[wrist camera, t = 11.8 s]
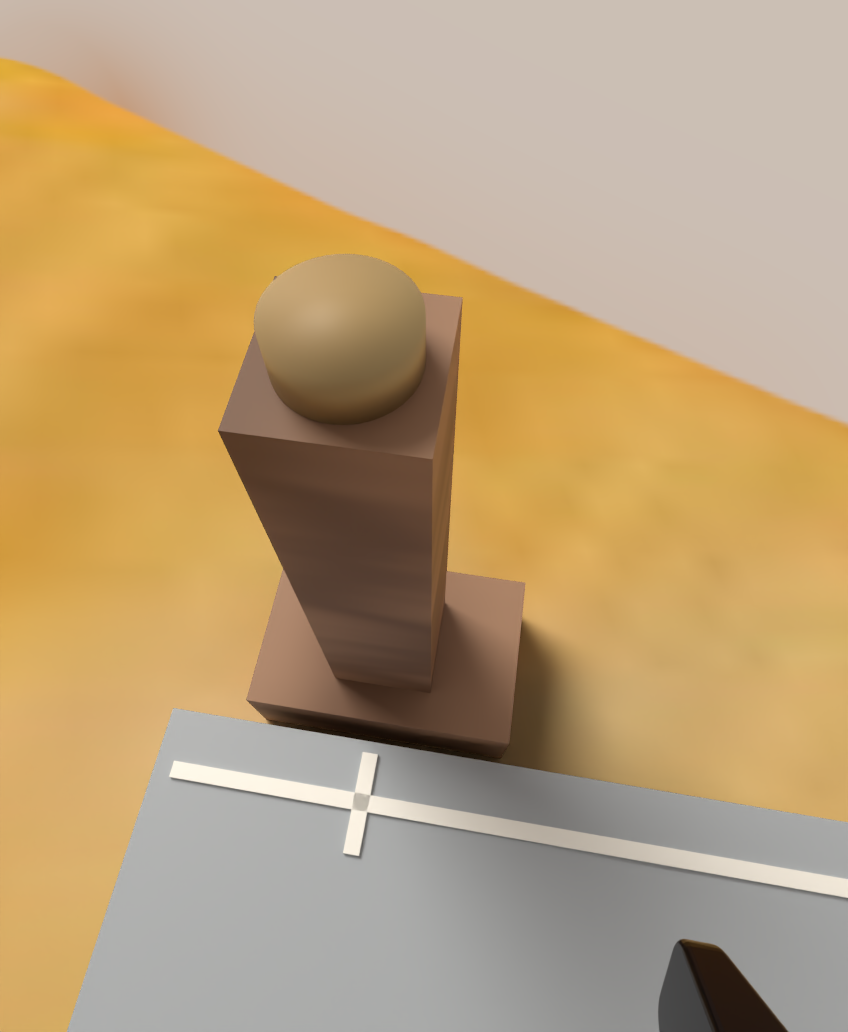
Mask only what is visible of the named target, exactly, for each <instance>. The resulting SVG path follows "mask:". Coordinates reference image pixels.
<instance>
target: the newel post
mask: <svg viewBox="0 0 848 1032" xmlns="http://www.w3.org/2000/svg"><path fill="white" fill-rule="evenodd" d="M461 315H462V297H453V296H444V295H435V294H427V293H421V292H420V290H419V289H418V287H417V286H416V284H415V283H414V282H413V281H412V279H411V278H410V277H409V276H407V275H406V274H405V273H404V272H403V271H401V270H400V269H398V268H397V267H395V266H393V265H391V264H389V263H387V262H385V261H382V260H380V259H377V258H373V257H369V256H363V255H356V254H334V255H326V256H322V257H317V258H313V259H310V260H307V261H304V262H302V263H300V264H297V265H295V266H293V267H292V268H290V269H288V270H286V271H285V272H283V273H282V274H281V275H279V276H278V277H277V276H275V277H274V280H273V281H272V282H271V284H270V285H269V286H268V287H267V288H266V289H265V291H264V292H263V294H262V295H261V297H260V299H259V301H258V303H257V306H256V310H255V314H254V330H255V331H254V334H253V337H252V340H251V342H250V345H249V348H248V350H247V353H246V356H245V359H244V361H243V364H242V367H241V369H240V372H239V375H238V378H237V380H236V383H235V386H234V388H233V391H232V394H231V397H230V399H229V402H228V405H227V408H226V410H225V413H224V416H223V418H222V421H221V424H220V427H219V429H218V432H219V434H220V436H221V438H222V440H223V442H224V444H225V446H226V448H227V451H228V453H229V455H230V457H231V459H232V461H233V463H234V465H235V467H236V470H237V472H238V474H239V476H240V478H241V480H242V482H243V484H244V486H245V489H246V491H247V493H248V495H249V497H250V499H251V501H252V503H253V505H254V508H255V510H256V512H257V514H258V516H259V518H260V520H261V522H262V524H263V527H264V529H265V531H266V533H267V535H268V537H269V539H270V541H271V543H272V546H273V548H274V550H275V552H276V554H277V556H278V558H279V560H280V562H281V565H282V567H283V571H282V575H281V578H280V582H279V585H278V589H277V593H276V596H275V600H274V603H273V607H272V610H271V614H270V617H269V621H268V625H267V628H266V632H265V635H264V639H263V642H262V646H261V649H260V653H259V657H258V660H257V664H256V667H255V671H254V674H253V678H252V681H251V685H250V689H249V692H248V696H247V699H246V700H247V701H248V702H249V703H250V704H251V705H252V706H253V707H254V708H255V709H256V710H257V711H258V712H259V713H260V714H261V715H262V716H263V717H265V718H266V719H268V720H274V721H280V722H286V723H292V724H298V725H304V726H310V727H316V728H322V729H328V730H334V731H340V732H346V733H352V734H358V735H364V736H370V737H376V738H382V739H388V740H393V741H399V742H405V743H411V744H417V745H423V746H429V747H435V748H441V749H447V750H453V751H459V752H465V753H471V754H477V755H483V756H489V757H495V758H501V757H502V755H503V753H504V752H505V750H506V748H507V747H508V745H509V742H510V732H511V722H512V712H513V702H514V692H515V682H516V672H517V662H518V652H519V642H520V632H521V622H522V612H523V601H524V591H525V583H523V582H516V581H509V580H502V579H496V578H489V577H482V576H475V575H468V574H462V573H455V572H448V571H447V556H448V539H449V522H450V505H451V487H452V470H453V453H454V436H455V419H456V401H457V384H458V367H459V350H460V333H461Z"/></svg>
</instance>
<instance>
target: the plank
mask: <svg viewBox="0 0 848 1032" xmlns="http://www.w3.org/2000/svg"><path fill="white" fill-rule="evenodd" d="M680 939H689V940H694V941H699V942H705V943H710V944H714V945H716V946H718V947H720V948H721V949H722V950H723V951H724V952H725V953H726V954H727V955H728V956H729V958H730V959H731V960H732V961H733V963H734V964H735V965H736V966H737V968H738V969H739V970H740V971H741V973H742V974H743V975H744V976H745V978H746V979H747V980H748V981H749V983H750V984H751V985H752V986H753V988H754V989H755V990H756V991H757V993H758V994H759V995H760V996H761V998H762V999H763V1000H764V1001H765V1003H766V1004H767V1005H768V1006H769V1008H770V1009H771V1010H772V1011H773V1013H774V1014H775V1015H776V1016H777V1018H778V1019H779V1020H780V1021H781V1023H782V1024H783V1025H784V1026H785V1028H786V1029H787V1030H788V1031H789V1032H848V822H842V821H836V820H830V819H824V818H818V817H812V816H806V815H801V814H795V813H789V812H783V811H777V810H771V809H765V808H759V807H753V806H747V805H742V804H736V803H730V802H724V801H718V800H712V799H706V798H700V797H694V796H689V795H683V794H677V793H671V792H665V791H659V790H653V789H647V788H641V787H636V786H630V785H624V784H618V783H612V782H606V781H600V780H594V779H588V778H582V777H577V776H571V775H565V774H559V773H553V772H547V771H541V770H535V769H529V768H524V767H518V766H512V765H506V764H500V763H494V762H488V761H482V760H476V759H470V758H465V757H459V756H453V755H447V754H441V753H435V752H429V751H423V750H417V749H412V748H406V747H400V746H394V745H388V744H382V743H376V742H370V741H364V740H359V739H353V738H347V737H341V736H335V735H329V734H323V733H317V732H311V731H305V730H300V729H294V728H288V727H282V726H276V725H270V724H264V723H258V722H252V721H247V720H241V719H235V718H229V717H223V716H217V715H211V714H205V713H199V712H194V711H188V710H182V709H176V708H173V711H172V714H171V717H170V720H169V723H168V726H167V729H166V732H165V735H164V738H163V741H162V744H161V747H160V750H159V754H158V757H157V760H156V763H155V766H154V769H153V772H152V775H151V778H150V781H149V784H148V787H147V790H146V793H145V796H144V799H143V802H142V805H141V808H140V811H139V814H138V817H137V820H136V823H135V826H134V829H133V832H132V835H131V838H130V842H129V845H128V848H127V851H126V854H125V857H124V860H123V863H122V866H121V869H120V872H119V875H118V878H117V881H116V884H115V887H114V890H113V893H112V896H111V899H110V902H109V905H108V908H107V911H106V914H105V917H104V920H103V923H102V926H101V930H100V933H99V936H98V939H97V942H96V945H95V948H94V951H93V954H92V957H91V960H90V963H89V966H88V969H87V972H86V975H85V978H84V981H83V984H82V987H81V990H80V993H79V996H78V999H77V1002H76V1005H75V1008H74V1011H73V1014H72V1018H71V1021H70V1024H69V1027H68V1030H67V1032H659V1023H658V1003H659V996H660V992H661V988H662V985H663V982H664V978H665V975H666V971H667V968H668V964H669V961H670V957H671V954H672V951H673V948H674V945H675V944H676V942H677V941H678V940H680Z"/></svg>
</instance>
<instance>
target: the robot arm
mask: <svg viewBox="0 0 848 1032" xmlns="http://www.w3.org/2000/svg"><path fill="white" fill-rule="evenodd" d="M658 1023H659V1032H789V1031H788V1030H787V1029H786V1028H785V1026H784V1025H783V1024H782V1023H781V1021H780V1020H779V1019H778V1018H777V1016H776V1015H775V1014H774V1013H773V1011H772V1010H771V1009H770V1008H769V1006H768V1005H767V1004H766V1003H765V1001H764V1000H763V999H762V998H761V996H760V995H759V994H758V993H757V991H756V990H755V989H754V988H753V986H752V985H751V984H750V983H749V981H748V980H747V979H746V978H745V976H744V975H743V974H742V973H741V971H740V970H739V969H738V968H737V966H736V965H735V964H734V963H733V961H732V960H731V959H730V958H729V956H728V955H727V954H726V953H725V952H724V951H723V950H722V949H721V948H720V947H718V946H716V945H714V944H710V943H705V942H699V941H694V940H689V939H680V940H678V941H677V942H676V944H675V945H674V948H673V951H672V954H671V957H670V961H669V964H668V968H667V971H666V975H665V978H664V982H663V985H662V988H661V992H660V996H659V1003H658Z"/></svg>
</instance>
